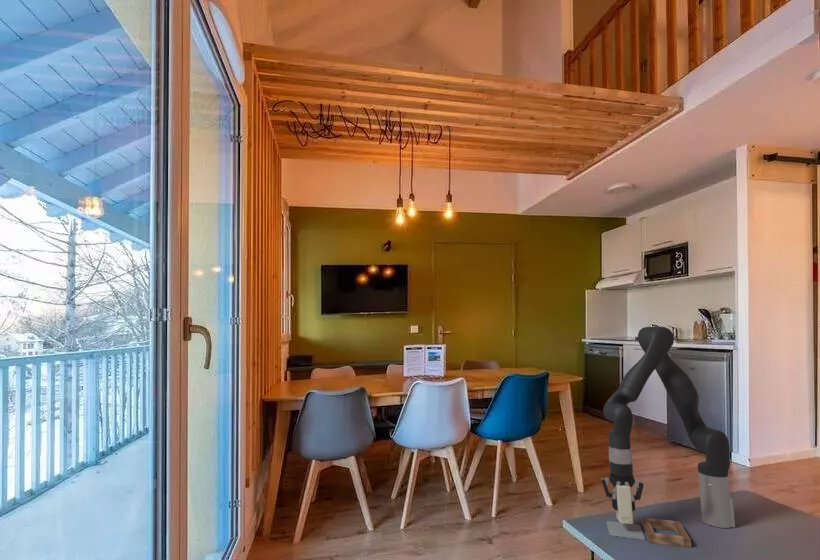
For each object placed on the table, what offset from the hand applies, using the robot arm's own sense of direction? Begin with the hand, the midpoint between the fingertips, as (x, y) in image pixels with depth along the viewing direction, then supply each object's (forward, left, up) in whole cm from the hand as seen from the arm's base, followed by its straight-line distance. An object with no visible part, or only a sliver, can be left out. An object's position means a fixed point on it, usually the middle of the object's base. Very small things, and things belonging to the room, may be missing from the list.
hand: (623, 510), depth 155 cm
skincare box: (0, 0, -4) cm, 4 cm away
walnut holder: (-13, 0, -7) cm, 14 cm away
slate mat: (0, 0, -7) cm, 7 cm away
